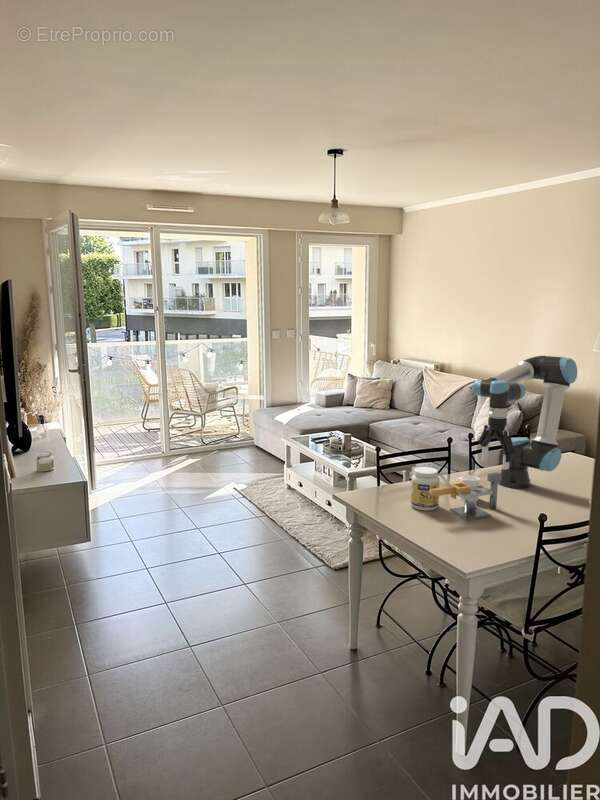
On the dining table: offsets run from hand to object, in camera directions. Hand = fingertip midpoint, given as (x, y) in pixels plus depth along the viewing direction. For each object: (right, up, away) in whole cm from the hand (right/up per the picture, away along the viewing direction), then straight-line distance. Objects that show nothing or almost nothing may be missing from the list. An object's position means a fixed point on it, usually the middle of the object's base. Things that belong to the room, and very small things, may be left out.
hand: (494, 464), depth 256 cm
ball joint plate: (-13, -21, -3) cm, 25 cm away
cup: (-8, -17, +18) cm, 26 cm away
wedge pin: (0, -20, +4) cm, 20 cm away
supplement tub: (-29, -19, +7) cm, 36 cm away
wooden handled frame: (-22, -13, -8) cm, 27 cm away
